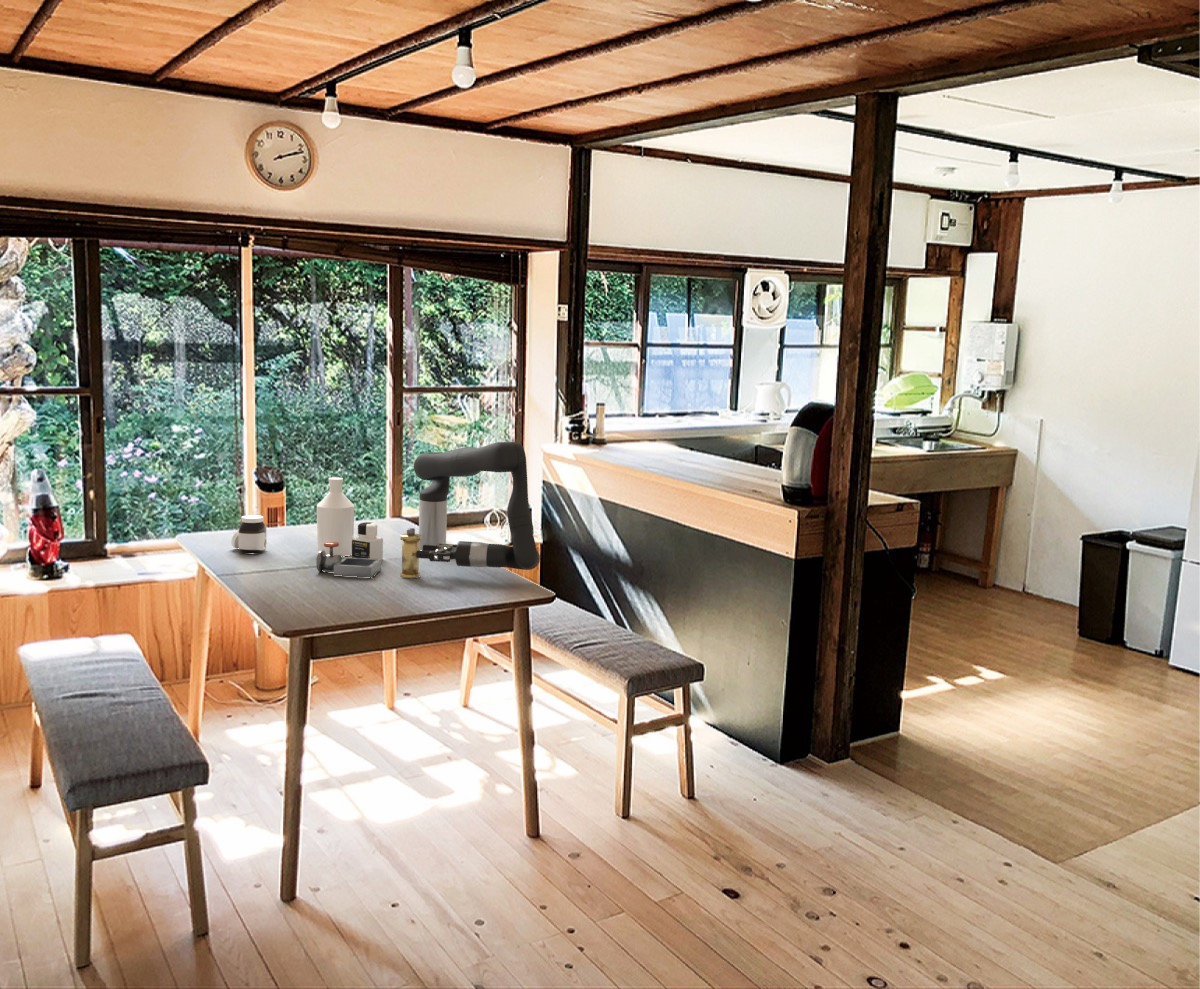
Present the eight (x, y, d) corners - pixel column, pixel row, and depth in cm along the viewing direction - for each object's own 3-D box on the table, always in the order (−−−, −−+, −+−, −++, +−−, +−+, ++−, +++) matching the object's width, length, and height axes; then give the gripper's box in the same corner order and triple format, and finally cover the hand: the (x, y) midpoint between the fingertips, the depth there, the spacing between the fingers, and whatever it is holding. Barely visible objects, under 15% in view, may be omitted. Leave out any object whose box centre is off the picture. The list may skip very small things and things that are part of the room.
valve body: (400, 574, 324) (401, 526, 322) (420, 574, 325) (421, 527, 322) (399, 578, 318) (400, 530, 316) (419, 578, 319) (420, 530, 317)
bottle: (358, 551, 353) (359, 477, 349) (346, 558, 341) (347, 482, 337) (324, 549, 354) (324, 475, 350) (311, 556, 342) (311, 479, 338)
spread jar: (259, 556, 340) (259, 520, 338) (224, 554, 340) (223, 518, 338) (271, 548, 352) (271, 513, 350) (237, 546, 352) (237, 512, 350)
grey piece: (325, 567, 328) (325, 538, 327) (381, 570, 328) (381, 542, 326) (313, 575, 317) (313, 546, 316) (371, 578, 316) (371, 549, 315)
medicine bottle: (351, 560, 339) (351, 523, 337) (365, 556, 346) (365, 520, 344) (369, 563, 336) (369, 526, 334) (383, 559, 343) (383, 522, 341)
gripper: (477, 537, 326) (425, 534, 327) (469, 546, 312) (414, 543, 312) (476, 561, 327) (424, 558, 328) (468, 571, 313) (414, 568, 314)
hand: (419, 551), depth 320 cm, fingers open, 8 cm apart
